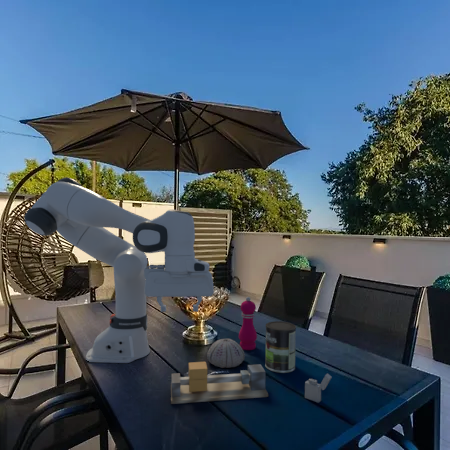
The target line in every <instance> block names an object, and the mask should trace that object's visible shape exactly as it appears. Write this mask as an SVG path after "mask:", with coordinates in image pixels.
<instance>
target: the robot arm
mask: <svg viewBox="0 0 450 450" xmlns="http://www.w3.org/2000/svg"><path fill="white" fill-rule="evenodd" d="M23 219H24V223H25V224H26V226H27V228H29V229H30V230H31V231H32V232H34V233H35V234H38V235H40V236H45V237H46V236H50V235H52V234H54V233H55V232H57V233H59V235H60V236H61V237H62V238H64V239H65V240H66V241H67V242H68V243H69V244H71V245H73V246H74V247H76V248H77V249H79V250H80V251H82V252H83V253H86V254H87V255H88V256H90V257H91V258H93V259H95V260H97V261H100V262H102V263H104V264H106V265H108V266H110V267H113V277H114V278H113V279H114V291H115V313H112V314H111V315H110V316H109V326H108V327H107V328H106V329H104V330H103V331H102V332H100V333H99V334H98V335H97V336H96V337H95V339H94V342H93V346H92V348H90V349H89V350H88V351H87V352H86V355H85V361H86V360H87V361H89V362H88V363H108V364H109V363H111V364H118V363H119V364H128V363H131V362H134V361H135V360H138V359H141V358H144V357H146V356H147V355H149V354H150V353H151V349H150V345H149V341H148V334H147V333H148V331H147V329H148V314H147V297H148V298H156V302H157V303H158V305H159V307H160V313H166V312H167V305H166V304H164V303H163V301H162V300H163V298H166V297H168V298H172V297H173V298H176V297H177V298H180V297H181V298H182V297H183V298H185V297H190V298H191V297H196V300H197V302H196V303H195V304H193V305H192V313H194V312H199V306H200V304H201V302H202V301H203V297H212V296H213V295H214V293H215V289H214V286H215V285H214V280H213V275H212V273H211V272H210V271H209V270H210V263H209V262H207V261H205V260H201V259H198V258H196V253H195V249H194V248H195V247H194V245H195V242H196V241H195V240H196V238H195V237H196V234H195V233H196V231H195V230H196V229H195V220H194V217H193V215H192V214H191V213H190V212H187V211H184V210H183V211H182V210H178V209H168V210H166V211H165V212H164V213H163V214H161V215H160V216H157V217H155V218H153V219H148V218H146V217H144V216H141V215H139V214H136V213H134V212H132V211H129V210H126V209H125V208H123V207H121V206H119V205H117V204H116V203H115V202H112V201H111V200H109V199H107V198H105V196H102V195H100V194H99V193H96V192H95V191H93V190H91V189H88V188H86V187H83V186H82V185H81V183H79V182H78V181H77V180H76V179H73V178H70V177H63V178H61V179H58V180H57V181H55V182H54V183H52V184H51V185H50V186H48V187H47V190H46V191H45V192H43V193H42V194H41V196H40V197H39V198H38V199H37V200H36V201H35V203H34V204H33V205H32V207H30V208H28V210H27V212H25V214H24V216H23ZM106 228H112V229H120V230H123V231H126V232H128V233H130V234H132V242H133V244H132V243H130V242H129V241H127V240H125V239H123V238H121V237H119V236H118V235H116V234H114V233H112V232H111V231H109V230H108V229H106ZM161 252H163V253H164V264H149V265H148V263H149V262H148V257H147V255H146V254H155V253H161ZM87 361H86V362H87Z"/></svg>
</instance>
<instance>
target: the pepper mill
mask: <svg viewBox="0 0 450 450" xmlns="http://www.w3.org/2000/svg"><path fill="white" fill-rule="evenodd" d="M240 311H241V317H242V325H241V328H240V330H239V333H238V339H239V340H240V342H239V345H240V347H241V348H242V349H243V351H253V350H255V349H256V345H257V343H256V341H257V338H258V336H257V335H258V333H257V330H256V329H255V326H254V318H255V313H254V312H255V311H256V304H255V302H253V301H252V300H251V297H250V296H246V298H245V300H244V301H243V302H241V304H240Z"/></svg>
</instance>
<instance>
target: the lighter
mask: <svg viewBox="0 0 450 450" xmlns="http://www.w3.org/2000/svg"><path fill="white" fill-rule="evenodd" d="M331 379H332V376H331V374H329V373H326V374H325V375H324V377H323V379H322V381H321V382H320V383H318V380H317V379H313V378H309V379H308V380H306V381H305V382H304V398H305V399H307V400H310V401H312V402H314V403H315V402H316V403H317V404H318V403H320V402H321V401H322V391H324V390H326V388H327V386H328V384H329V383H330V381H331Z"/></svg>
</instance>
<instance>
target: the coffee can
mask: <svg viewBox="0 0 450 450" xmlns="http://www.w3.org/2000/svg"><path fill="white" fill-rule="evenodd" d="M296 330H297V325H295V324H294V323H291V322H287V321H282V320H281V321H280V320H279V321H278V320H276V321H269V322H266V324H265V362H264V363H265V365H264V366H265V368H266V369H267V370H269V371H271V372H275V373H278V374H279V373H280V374H286V373H292V372H293V371H295V370H296Z"/></svg>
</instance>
